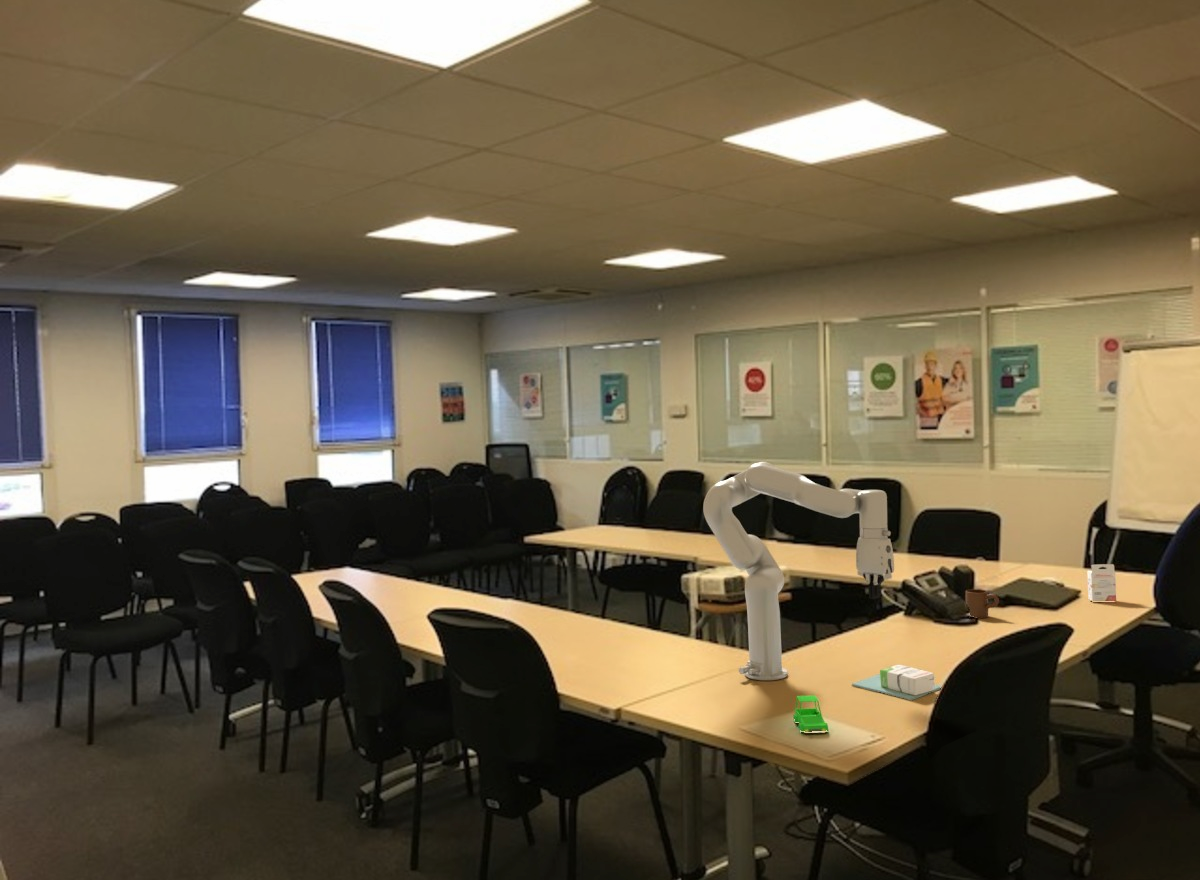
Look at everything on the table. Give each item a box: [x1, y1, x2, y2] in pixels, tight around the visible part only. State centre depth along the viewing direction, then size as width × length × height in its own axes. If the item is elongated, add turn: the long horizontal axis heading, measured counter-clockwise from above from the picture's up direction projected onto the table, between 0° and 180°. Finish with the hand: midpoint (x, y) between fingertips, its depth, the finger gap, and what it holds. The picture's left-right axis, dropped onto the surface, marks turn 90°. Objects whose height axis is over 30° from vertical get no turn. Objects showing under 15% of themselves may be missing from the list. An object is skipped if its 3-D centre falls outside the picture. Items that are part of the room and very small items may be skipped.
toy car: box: [793, 694, 829, 732], centre depth 229 cm, size 11×7×7 cm, turn 179°
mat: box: [851, 673, 942, 701], centre depth 258 cm, size 15×19×1 cm
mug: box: [965, 588, 1000, 619], centre depth 335 cm, size 12×8×9 cm, turn 40°
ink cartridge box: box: [1086, 563, 1117, 602], centre depth 352 cm, size 9×5×15 cm, turn 80°
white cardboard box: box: [879, 664, 935, 695], centre depth 254 cm, size 9×5×12 cm
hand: (874, 597), depth 262 cm, fingers closed
